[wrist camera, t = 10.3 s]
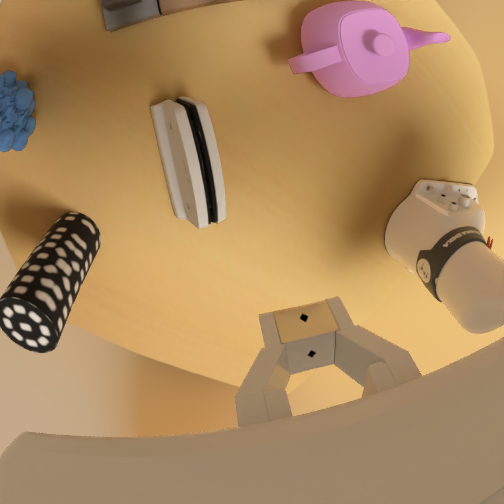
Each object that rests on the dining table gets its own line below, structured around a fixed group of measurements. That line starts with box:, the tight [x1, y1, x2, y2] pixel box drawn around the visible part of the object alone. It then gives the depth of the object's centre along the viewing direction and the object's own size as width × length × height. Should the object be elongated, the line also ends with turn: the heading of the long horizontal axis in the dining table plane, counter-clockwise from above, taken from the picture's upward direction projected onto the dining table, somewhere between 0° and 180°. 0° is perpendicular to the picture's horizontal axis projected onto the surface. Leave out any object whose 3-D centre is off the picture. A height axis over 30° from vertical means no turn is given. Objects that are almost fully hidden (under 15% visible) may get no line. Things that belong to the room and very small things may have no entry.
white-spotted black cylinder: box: [0, 212, 101, 353], centre depth 35 cm, size 8×8×20 cm
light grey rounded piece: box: [150, 97, 226, 229], centre depth 37 cm, size 17×5×10 cm, turn 7°
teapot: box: [287, 1, 450, 98], centre depth 30 cm, size 13×20×11 cm, turn 111°
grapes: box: [0, 70, 36, 152], centre depth 27 cm, size 12×7×12 cm, turn 16°
